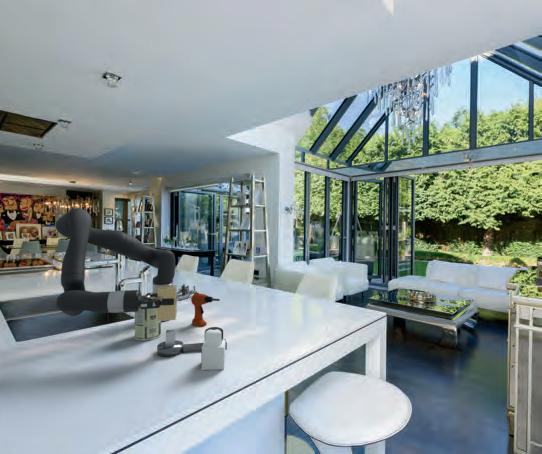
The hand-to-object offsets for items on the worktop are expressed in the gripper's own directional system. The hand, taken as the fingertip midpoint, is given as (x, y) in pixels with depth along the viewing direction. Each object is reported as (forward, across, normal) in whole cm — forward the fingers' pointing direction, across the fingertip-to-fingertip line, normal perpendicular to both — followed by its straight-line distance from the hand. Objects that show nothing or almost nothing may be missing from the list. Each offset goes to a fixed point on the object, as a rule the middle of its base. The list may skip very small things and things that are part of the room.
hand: (174, 299), depth 112 cm
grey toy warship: (-4, +82, +19) cm, 85 cm away
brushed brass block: (-2, 0, +6) cm, 7 cm away
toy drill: (+11, +25, +19) cm, 34 cm away
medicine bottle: (+14, -14, +19) cm, 27 cm away
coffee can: (-12, +18, +19) cm, 29 cm away
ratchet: (+7, 0, +19) cm, 20 cm away
